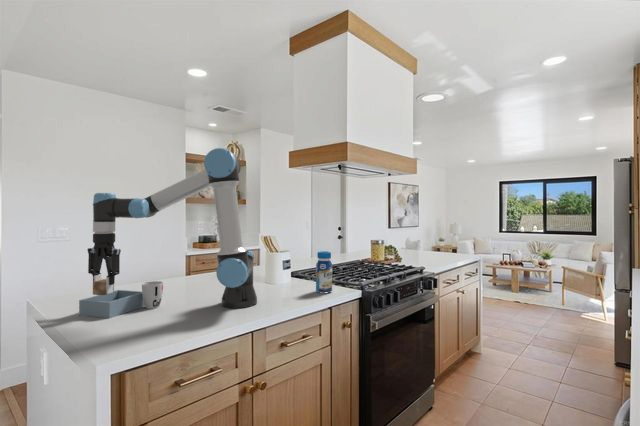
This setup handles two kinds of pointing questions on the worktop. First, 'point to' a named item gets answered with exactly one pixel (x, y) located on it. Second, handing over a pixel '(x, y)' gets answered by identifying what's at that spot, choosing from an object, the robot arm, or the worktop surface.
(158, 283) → the cup
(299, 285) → the worktop surface
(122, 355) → the worktop surface
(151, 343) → the worktop surface
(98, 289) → the walnut cube
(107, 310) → the tote
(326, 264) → the beverage bottle
